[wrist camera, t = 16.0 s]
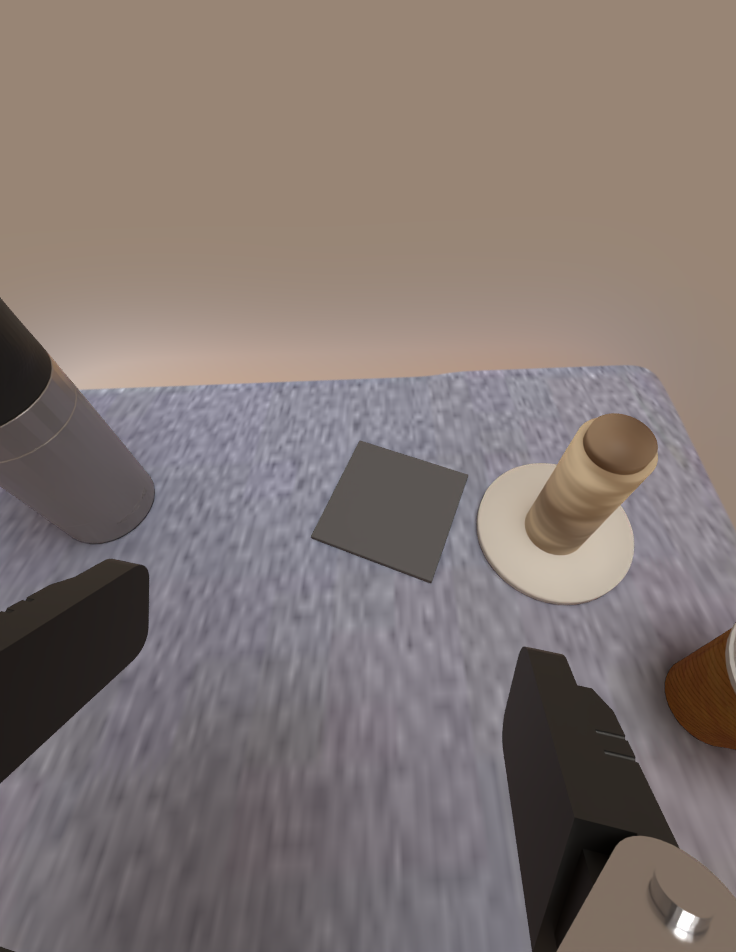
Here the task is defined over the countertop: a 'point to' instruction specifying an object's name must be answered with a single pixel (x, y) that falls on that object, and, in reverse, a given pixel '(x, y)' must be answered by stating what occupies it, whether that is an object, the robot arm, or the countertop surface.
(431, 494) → the mat
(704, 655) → the disposable coffee cup
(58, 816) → the countertop surface
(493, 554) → the plate
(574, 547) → the pepper mill
